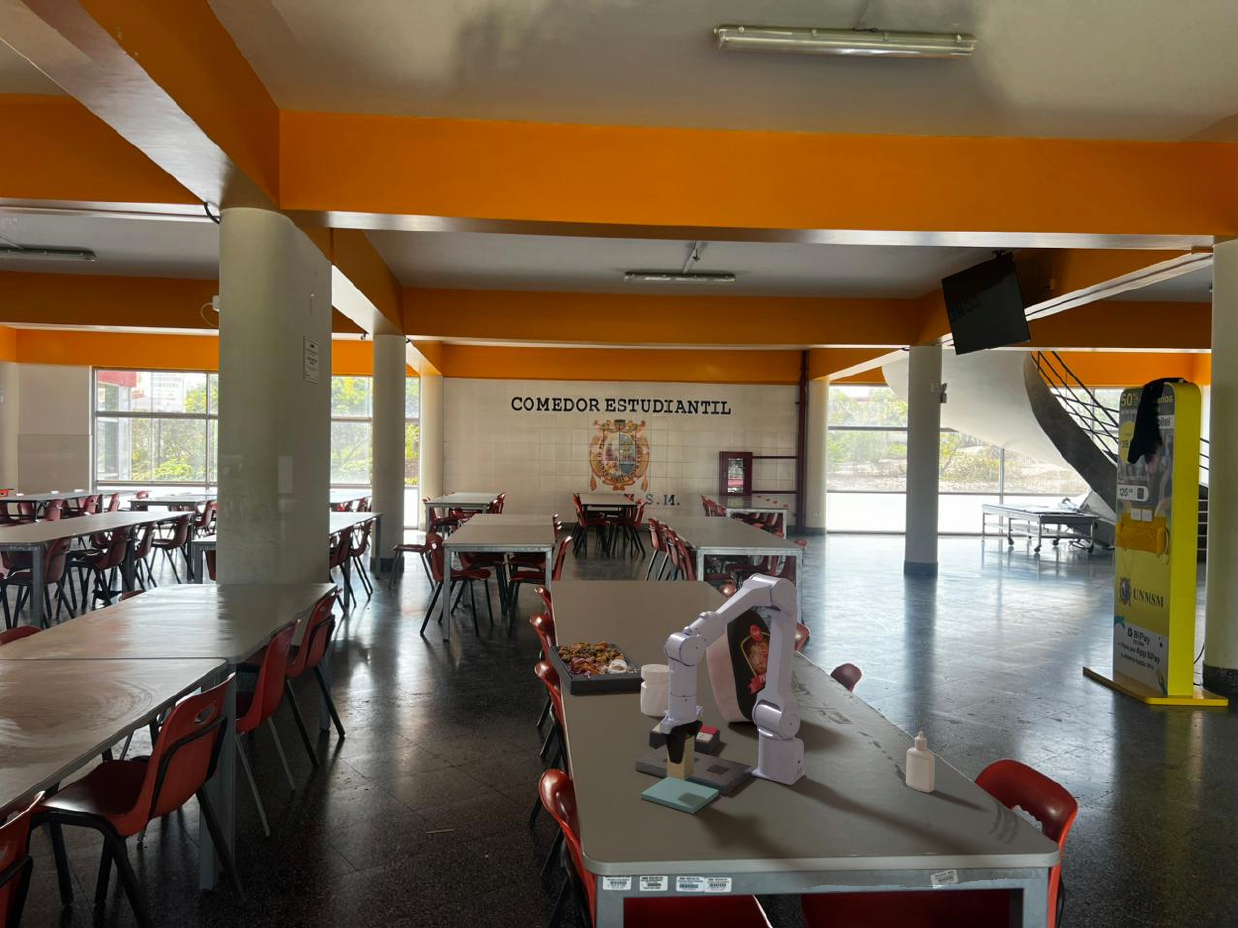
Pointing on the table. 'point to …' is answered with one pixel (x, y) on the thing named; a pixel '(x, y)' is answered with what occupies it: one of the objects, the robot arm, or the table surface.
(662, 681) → the white jar
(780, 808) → the table surface
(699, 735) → the calculator
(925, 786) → the eye dropper bottle
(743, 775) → the grey square-hole board
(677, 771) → the wooden block
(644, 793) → the pad
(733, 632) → the packaged food
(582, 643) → the food platter
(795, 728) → the robot arm
